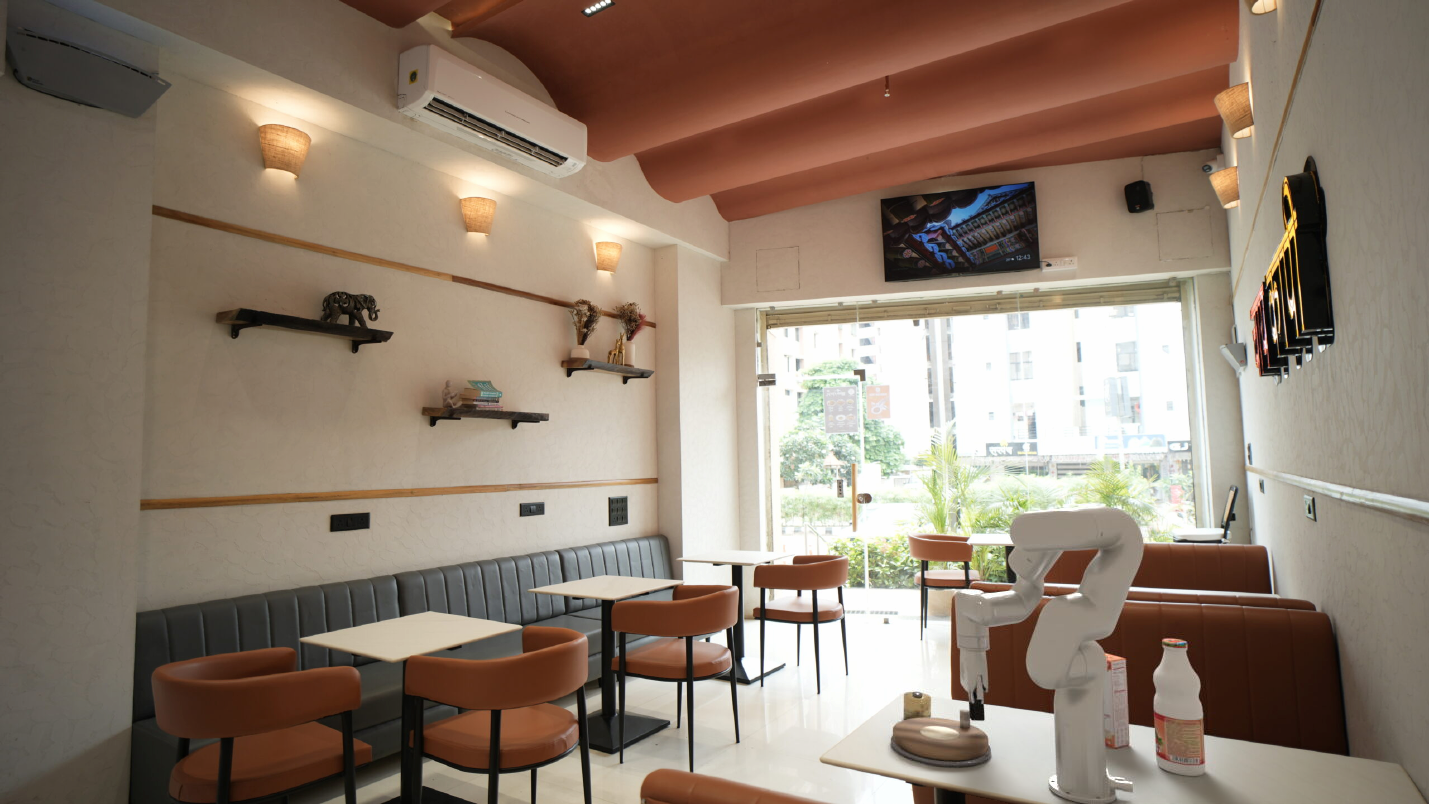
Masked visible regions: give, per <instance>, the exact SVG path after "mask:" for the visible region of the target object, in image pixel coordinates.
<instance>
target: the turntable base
mask: <svg viewBox="0 0 1429 804" xmlns="http://www.w3.org/2000/svg"><path fill="white" fill-rule="evenodd" d="M988 745H989V743H988ZM890 746H891V748H892V749H893V751H894V752H895V753H896V754H898V755H900V756H901V757H903V758H905V759H907V760H910V761H912V762H916V763H919V764H923V765H925V766H926V765H927V766H932V767H937V768H938V767H939V768H950V769H951V768H955V769H956V768H959V769H960V768H969V767H976V766H979V765H982V764H984V763H987V761H989V760H990V759H991V756H992V748H991V745H989V748H988V751H987V753H985V754H984V755H982V756H980V757H977V758H973V759H967V760H940V759H933V758H927V757H923V756H919V755H916V754H913V753H910V752H908V751H905V750H903V749H902V748H900V747H899V746H897V745H896V744H895V742H894V741H893V734H892V735H891V738H890Z"/></svg>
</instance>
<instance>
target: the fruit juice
mask: <svg viewBox="0 0 1429 804" xmlns="http://www.w3.org/2000/svg"><path fill="white" fill-rule="evenodd" d="M1161 645H1162V648H1163V654H1162V658H1161V661H1160V663H1159V665H1158V666H1157V667H1156V668H1155V670H1154V672H1153V678H1152V682H1153V684H1154V687H1155V694H1154V697H1153V717H1154V718H1153V719H1154V736H1155V737H1154V738H1155V739H1154V740H1155V741H1154V742H1155V759H1156V763H1157V765H1158V766H1159V768H1161V769H1163V770H1164V771H1167V772H1170V773H1172V774H1175V775H1181V776H1186V777H1187V776H1188V777H1197V776H1198V777H1199V776H1202V775H1204V774H1205V773H1206V753H1205V752H1206V751H1205V735H1204V734H1205V731H1204V712H1203V706H1202V702H1201V701H1200V698H1199V696H1200V695H1199V694H1200V691H1201V686H1202V685H1201V681H1200V677H1199V676H1198V674H1197V673H1196V672H1195V670H1194V668H1193V667H1192V665H1191V663H1190V660H1189V658H1188V654H1187V651H1188V648H1189V647H1188V642H1187V641H1185V640H1183V639H1179V638H1178V639H1177V638H1163V639H1162V641H1161Z"/></svg>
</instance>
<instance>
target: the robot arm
mask: <svg viewBox="0 0 1429 804" xmlns="http://www.w3.org/2000/svg"><path fill="white" fill-rule="evenodd" d="M1134 519H1135V518H1133V517H1132V516H1131V515H1130V514H1129V513H1127V512H1125V510H1122V509H1119V508H1116V507H1113V506H1088V507H1087V506H1086V507H1085V506H1084V507H1070V508H1069V507H1067V508H1066V507H1065V508H1059V509H1048V510H1047V509H1046V510H1038V511H1037V510H1033V511H1025V512H1022V513H1019V514H1018V515H1017V516H1015V517H1014V519H1012V522H1011V524H1010V527H1009V538H1010V540H1011V542H1012V543H1013V545H1014V548H1013V549H1012V551H1011V552H1010V554H1009V555H1008V559H1007V561H1008V565H1009V567H1010V569H1011V571H1013V573H1015V575H1016V576H1018V578H1017V580H1016V581H1015V583H1014V584H1013V585H1012V586H1011V588H1010V589H1009V590H1006V591H999V592H997V591H996V592H991V593H990V592H989V593H985V592H984V591H983V590H980V589H972V588H971V589H969V588H968V589H967V588H966V589H964V588H963V589H959V590H957V591H956V592H955V594H954V607H955V626H956V645H957V646H956V647H957V648H958V649H959V651H960V652H959V671H960V672H959V676H960V677H959V679H960V680H959V681H960V684H961V686H962V687H963V688H964V690H965V692H967V693H968V700H969V701H968V710H969V715H970V721H978V722H979V721H980V722H983V721H985V703H984V702H985V701H984V694H987V693H988V692H989V678H988V676H989V675H988V662H987V661H988V660H987V655H986V654H987V652H986V651H989V650H990V632H989V631H990V630H989V628H991V627H994V628H995V627H999V626H1005V625H1011V624H1012V625H1013V624H1019V623H1022V622H1023V621H1025V620H1026V619H1028V617H1029V616H1030V615H1032V613H1033V612H1034V610H1035V609H1036V608H1037V606H1038V605H1039V604H1040V603H1041V601H1042V600H1043V597H1044V594H1045V593H1044V592H1045V581H1044V580H1045V577H1046V576H1047V574H1048V573H1049V571H1050V570H1051V569H1052V568H1053V566H1054V565H1055V563H1056V562H1057V561H1058V559H1059V558H1060V557H1061V555H1062V554H1063V552H1068V551H1069V552H1071V551H1073V552H1075V551H1088V550H1097V549H1098V551H1097V553H1096V555H1095V556H1094V557H1093V558H1092V560H1091V561H1090V562H1089V563H1088V565H1087V566H1086V569H1085V570H1084V572H1083V575H1082V576H1083V577H1082V580H1081V581H1080V584H1079V586H1078V588H1077V590H1076V591H1075V592H1072V593H1070V594H1063V595H1059V596H1055V597H1052V599H1050V600H1048V601H1047V602H1046V604H1045V605H1044V606H1043V607H1042V609H1041V611H1040V614H1039V615H1038V619H1037V621H1036V624H1035V627H1034V631H1033V633H1032V635H1031V638H1030V640H1029V641H1030V642H1029V644H1028V647H1027V651H1026V657H1025V665H1026V670H1027V674H1028V675H1029V678H1030V679H1031V681H1032V682H1034V683H1035V685H1037V686H1039V687H1040V688H1041V689H1045V690H1055V691H1054V698H1053V716H1054V718H1053V719H1054V720H1053V721H1054V745H1055V746H1054V747H1055V775H1052V776H1050V777H1049V778H1048V787H1049V789H1050V790H1051V792H1053V794H1055V795H1056V796H1059V797H1061V798H1063V799H1065V800H1068V801H1072V802H1075V803H1079V804H1110V803H1113V802H1114V801H1115V800H1116V799H1117V798H1116V797H1117V791H1122V792H1126V793H1132V794H1133V792H1134V788H1133V787H1134V785H1133V781H1126V780H1125V778H1124V777H1119V776H1112V774H1109V771H1108V770H1109V769H1108V768H1107V753H1106V752H1107V751H1106V747H1107V746H1106V745H1105V723H1104V690H1105V683H1106V676H1107V658H1106V655H1105V653H1106V652H1105V651H1104V649H1103V647H1102V646H1101V645H1100V644H1099V643H1098V642H1097V640H1102V639H1105V638H1108V637H1109V636H1111V635H1112V633H1113V632H1114V630H1115V628H1116V625H1117V623H1118V621H1119V618H1120V617H1121V613H1122V610H1123V608H1124V605H1125V602H1126V600H1127V597H1128V594H1129V591H1130V588H1131V587H1132V584H1133V582H1134V579H1135V577H1136V575H1137V573H1138V570H1139V568H1140V566H1141V562H1142V560H1143V556H1144V548H1145V545H1144V537H1143V534H1142V531H1141V529H1140V527H1139V525H1138V523H1137V522H1136V520H1134Z"/></svg>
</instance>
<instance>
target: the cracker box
mask: <svg viewBox="0 0 1429 804" xmlns="http://www.w3.org/2000/svg"><path fill="white" fill-rule="evenodd" d="M1104 653H1105V655H1106V658H1107V676H1106V683H1105V690H1104V723H1105V747H1109V748H1111V749H1119V748H1122V747H1126V746H1129V745H1130V723H1129V719H1130V718H1129V702H1128V701H1129V700H1128V698H1129V697H1128V695H1129V694H1128V677H1127V675H1128V674H1127V659H1126V658H1124V657H1121V656H1117V655H1113V654H1110V653H1106V652H1104Z"/></svg>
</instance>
